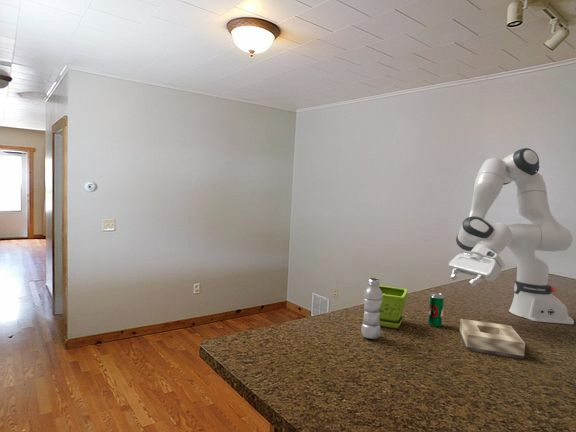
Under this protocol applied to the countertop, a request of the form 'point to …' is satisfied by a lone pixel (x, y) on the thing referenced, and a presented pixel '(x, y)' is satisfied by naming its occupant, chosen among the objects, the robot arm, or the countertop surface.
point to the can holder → (491, 338)
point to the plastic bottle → (372, 310)
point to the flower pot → (392, 306)
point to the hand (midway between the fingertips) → (461, 281)
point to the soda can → (436, 309)
